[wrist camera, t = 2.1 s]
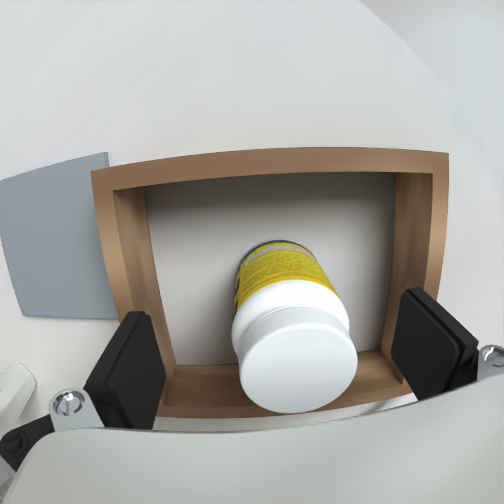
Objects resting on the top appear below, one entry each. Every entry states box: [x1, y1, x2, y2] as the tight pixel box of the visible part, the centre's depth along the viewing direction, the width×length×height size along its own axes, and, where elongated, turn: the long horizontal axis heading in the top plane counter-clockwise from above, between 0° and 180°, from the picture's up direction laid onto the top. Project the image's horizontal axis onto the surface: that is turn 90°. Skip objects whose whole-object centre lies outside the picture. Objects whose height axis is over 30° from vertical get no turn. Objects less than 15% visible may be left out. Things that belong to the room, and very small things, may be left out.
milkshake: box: [0, 362, 36, 440], centre depth 15 cm, size 4×5×10 cm
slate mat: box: [0, 152, 119, 319], centre depth 16 cm, size 10×10×1 cm
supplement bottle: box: [231, 238, 358, 413], centre depth 13 cm, size 5×5×8 cm
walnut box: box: [90, 147, 449, 418], centre depth 15 cm, size 14×16×4 cm
